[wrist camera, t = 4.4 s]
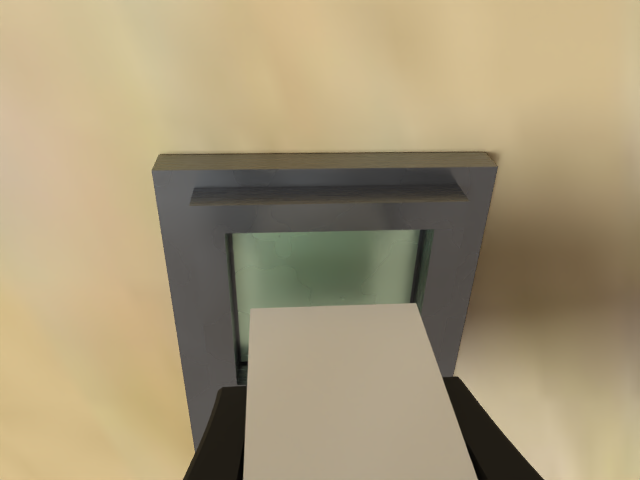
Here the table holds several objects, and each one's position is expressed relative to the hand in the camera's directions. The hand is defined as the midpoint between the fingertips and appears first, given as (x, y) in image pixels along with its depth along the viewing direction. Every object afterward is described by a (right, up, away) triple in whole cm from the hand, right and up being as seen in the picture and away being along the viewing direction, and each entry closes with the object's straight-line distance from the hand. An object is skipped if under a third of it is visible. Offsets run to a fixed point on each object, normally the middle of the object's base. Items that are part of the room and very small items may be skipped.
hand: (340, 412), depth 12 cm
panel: (0, -1, +7) cm, 7 cm away
